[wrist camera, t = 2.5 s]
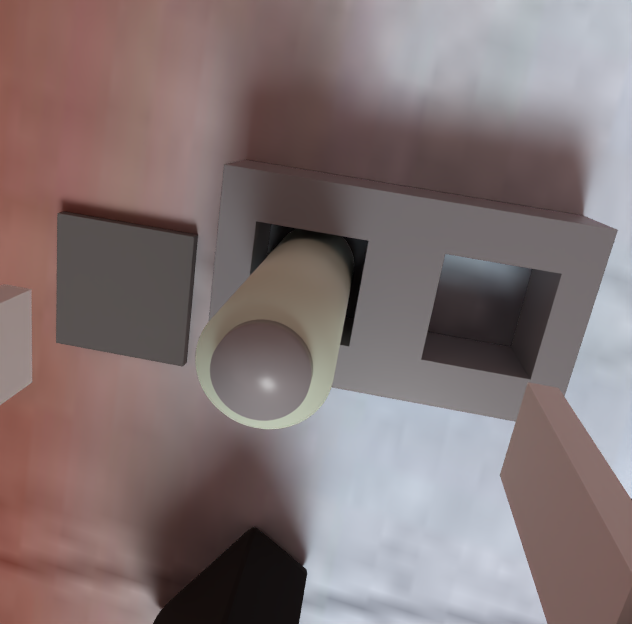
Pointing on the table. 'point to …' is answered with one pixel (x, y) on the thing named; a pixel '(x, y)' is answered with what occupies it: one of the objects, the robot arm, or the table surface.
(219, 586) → the electronic device
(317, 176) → the gray cinder block
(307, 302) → the plug
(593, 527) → the robot arm
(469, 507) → the table surface
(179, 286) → the coaster
